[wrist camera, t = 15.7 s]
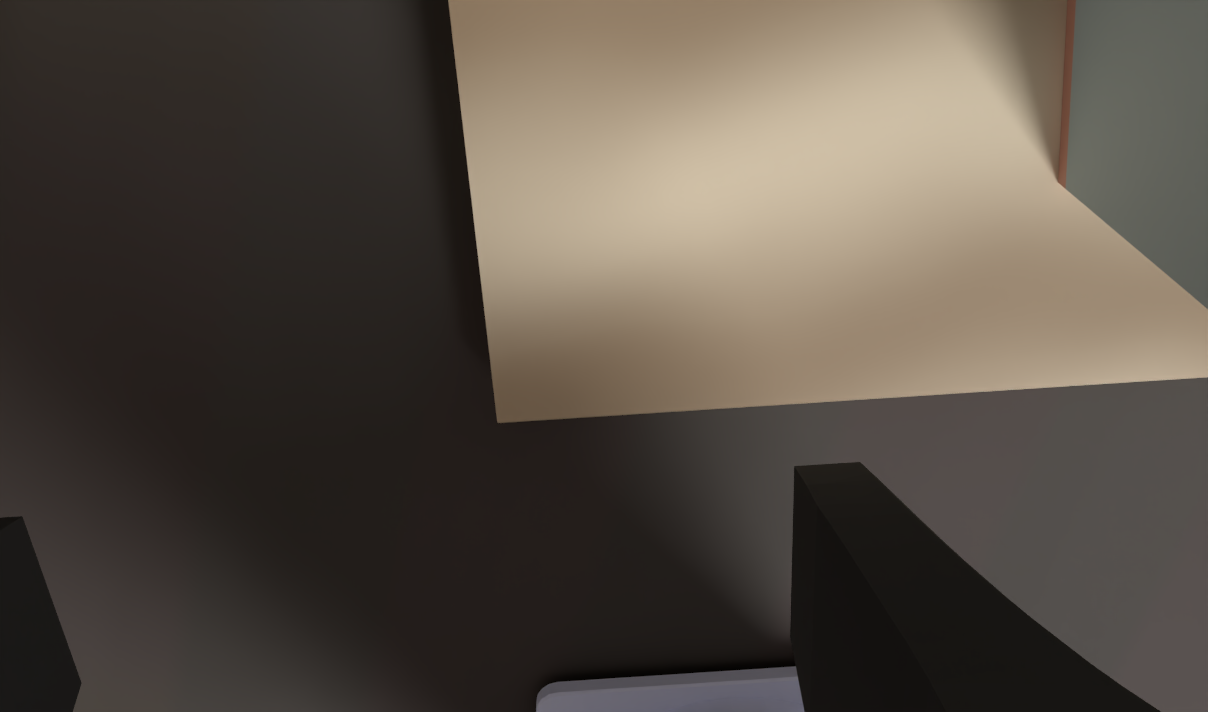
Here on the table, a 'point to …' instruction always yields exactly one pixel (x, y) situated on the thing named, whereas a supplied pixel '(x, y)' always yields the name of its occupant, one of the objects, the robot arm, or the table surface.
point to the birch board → (790, 208)
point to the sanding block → (1141, 127)
